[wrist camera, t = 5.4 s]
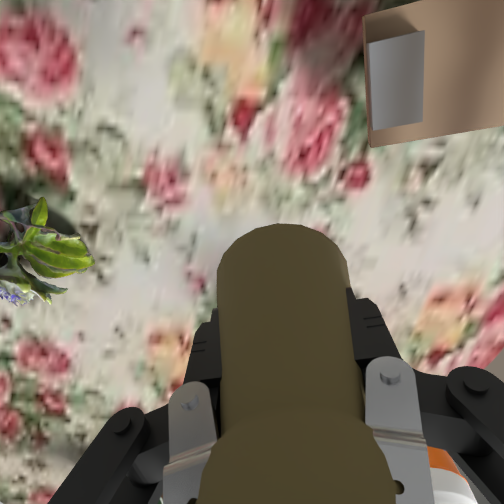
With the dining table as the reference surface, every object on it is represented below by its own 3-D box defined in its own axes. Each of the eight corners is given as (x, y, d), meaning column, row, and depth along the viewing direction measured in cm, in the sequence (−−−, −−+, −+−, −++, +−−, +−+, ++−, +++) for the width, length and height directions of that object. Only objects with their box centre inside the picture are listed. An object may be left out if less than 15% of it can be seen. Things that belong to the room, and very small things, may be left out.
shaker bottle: (361, 390, 45) (423, 596, 28) (313, 358, 43) (348, 564, 25) (417, 353, 42) (527, 563, 24) (368, 316, 39) (453, 521, 22)
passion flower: (45, 232, 41) (-90, 260, 32) (58, 159, 35) (-106, 168, 26) (94, 303, 38) (-39, 356, 29) (119, 238, 32) (-42, 279, 23)
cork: (228, 210, 14) (158, 546, 4) (369, 238, 14) (581, 596, 5) (207, 321, 17) (137, 665, 7) (324, 341, 17) (402, 688, 8)
